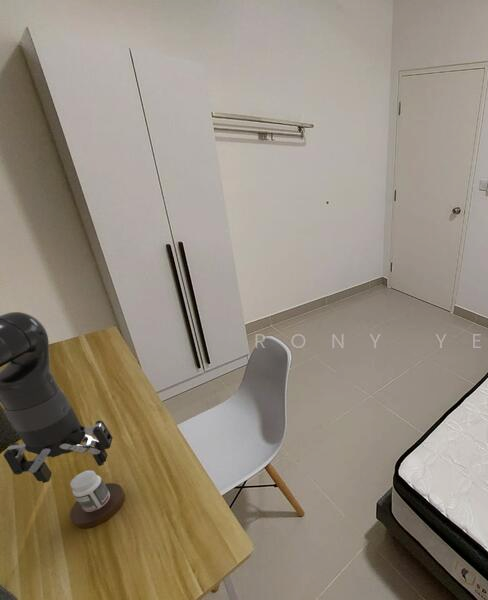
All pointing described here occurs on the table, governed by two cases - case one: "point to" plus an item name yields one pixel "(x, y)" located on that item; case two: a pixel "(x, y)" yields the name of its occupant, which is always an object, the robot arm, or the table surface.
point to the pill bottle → (90, 491)
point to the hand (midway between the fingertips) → (75, 470)
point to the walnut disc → (101, 514)
